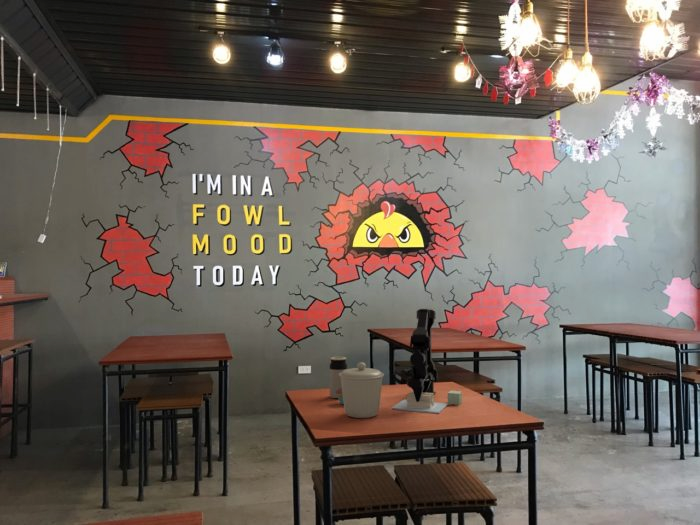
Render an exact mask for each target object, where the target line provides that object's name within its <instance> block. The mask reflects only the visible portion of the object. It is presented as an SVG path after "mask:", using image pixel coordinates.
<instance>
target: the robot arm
mask: <svg viewBox="0 0 700 525" xmlns="http://www.w3.org/2000/svg"><path fill="white" fill-rule="evenodd" d="M436 315H437V314H436V311H435V310H434V309H431V308H430V309H429V308H420V309H418V310H416V319H417V324H416V328H415V329H414V330H413V331H412V335H410V342H409V351H413V353H412V354H411V355H410V357H409V362H410V364H411V367H410V368H407V369H406V368H404V369H401V370H400V372H399V377H400V378H401V379H402V380H405V379H407V378H409V379H408V380H407V381H406V383H407V384H406V386H408V387H409V388H410V389H412V392H414V395H415V398H416V402H419V401H420V398H421V395H422V392H424V393H433V396H434V395H435V394H436V393H437V391H434V388H435V386H434V385H435V384H434V382H435V383H437V382H439V376H438V375H439V374H438V371H437V368H436V365H435V362H434V360H433V359H432V327H433V325H434V323H435V320H436V317H437V316H436Z"/></svg>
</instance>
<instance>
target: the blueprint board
mask: <svg viewBox="0 0 700 525" xmlns="http://www.w3.org/2000/svg"><path fill="white" fill-rule="evenodd" d="M447 405H448V406H449V404H448V402H447V403H444V402H434V405H433V406H432V407H431V408H422V407H410V406H407V399H403V400H401V401H400V402H398V403H397V404H395V405H393V406H392V407H391V409H392V410H399V411H407V412H408V411H409V412H416V413H417V412H419V413H426V412H427V414H429V413H430V414H437V413H439V414H440V413H441V412H443V411H444V408H445V407H446V406H447ZM448 406H447V407H448ZM447 407H446V408H447ZM446 408H445V409H446Z"/></svg>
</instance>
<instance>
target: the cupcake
mask: <svg viewBox="0 0 700 525" xmlns="http://www.w3.org/2000/svg"><path fill="white" fill-rule="evenodd" d="M336 395H337V396H338V399H337V400H338V401H339V404H340V405H342V404H344V403H343V395H342V388H339V389H338V390H337V391H336Z"/></svg>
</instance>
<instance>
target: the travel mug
mask: <svg viewBox="0 0 700 525" xmlns="http://www.w3.org/2000/svg"><path fill="white" fill-rule="evenodd" d="M346 360H347V357H345V356H332V357H330V364H329V397H330V398H331V399H334V398H338V396H337V395H336V391H337V390H338V389H339V388H342V386H341V377H340V376H339V374H340V373H341V372H343V371H344V370H347V369H348V364H347V362H346Z"/></svg>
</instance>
